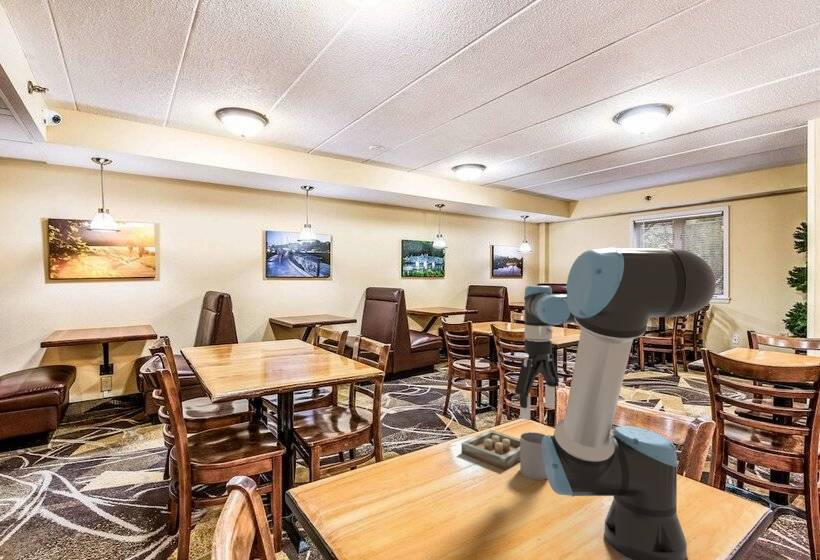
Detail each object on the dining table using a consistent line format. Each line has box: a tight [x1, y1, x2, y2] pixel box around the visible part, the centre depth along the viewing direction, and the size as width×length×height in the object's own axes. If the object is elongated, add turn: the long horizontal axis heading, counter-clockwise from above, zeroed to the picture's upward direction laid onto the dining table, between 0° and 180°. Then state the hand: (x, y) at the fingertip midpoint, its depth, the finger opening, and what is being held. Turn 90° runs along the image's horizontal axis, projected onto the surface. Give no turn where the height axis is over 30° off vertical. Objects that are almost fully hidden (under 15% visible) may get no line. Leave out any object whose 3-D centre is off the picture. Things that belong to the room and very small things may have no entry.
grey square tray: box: [461, 429, 520, 471], centre depth 132 cm, size 16×16×4 cm
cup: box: [519, 431, 548, 481], centre depth 120 cm, size 8×8×10 cm
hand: (538, 413), depth 120 cm, fingers open, 13 cm apart
